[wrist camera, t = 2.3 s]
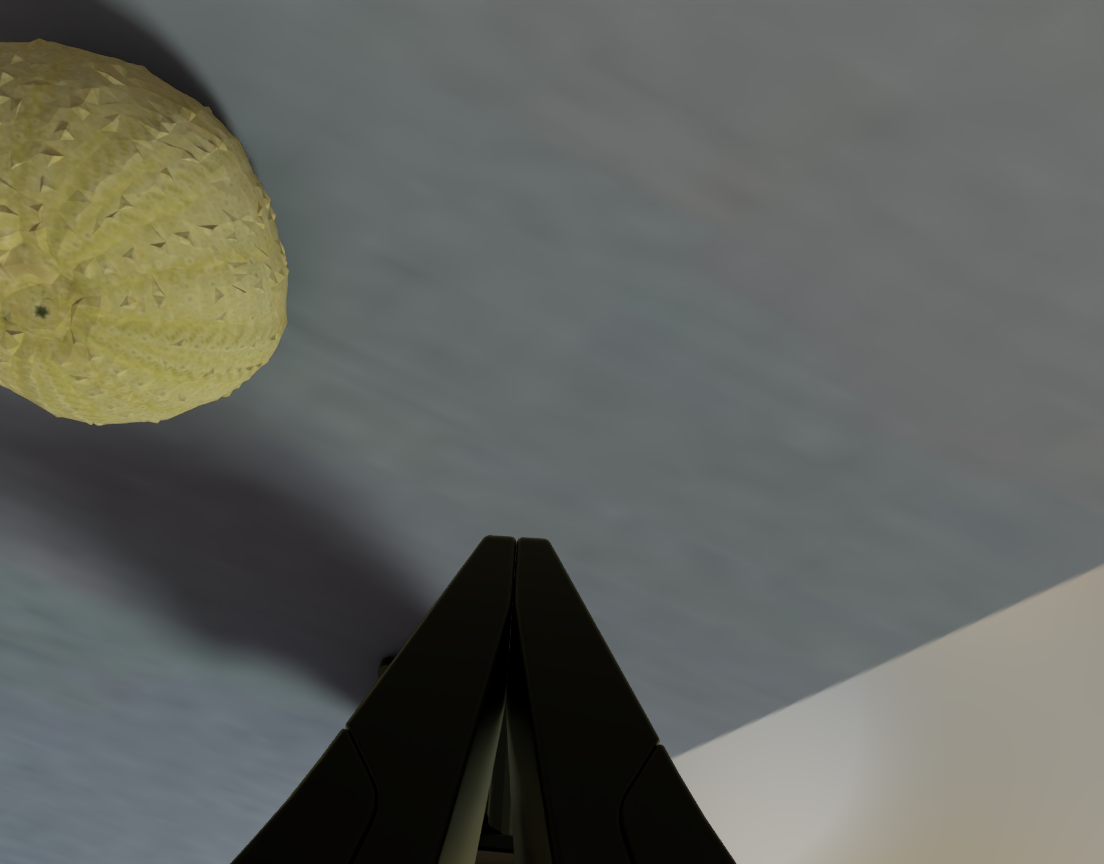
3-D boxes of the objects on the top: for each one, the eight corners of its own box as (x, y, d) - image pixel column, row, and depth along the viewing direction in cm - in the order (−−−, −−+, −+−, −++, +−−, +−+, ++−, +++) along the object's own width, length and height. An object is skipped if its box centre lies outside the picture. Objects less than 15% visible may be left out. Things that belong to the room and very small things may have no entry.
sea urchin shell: (293, 61, 15) (186, 410, 13) (339, 235, 22) (276, 469, 21) (-172, -66, 14) (-364, 298, 12) (44, 163, 21) (-51, 405, 19)
